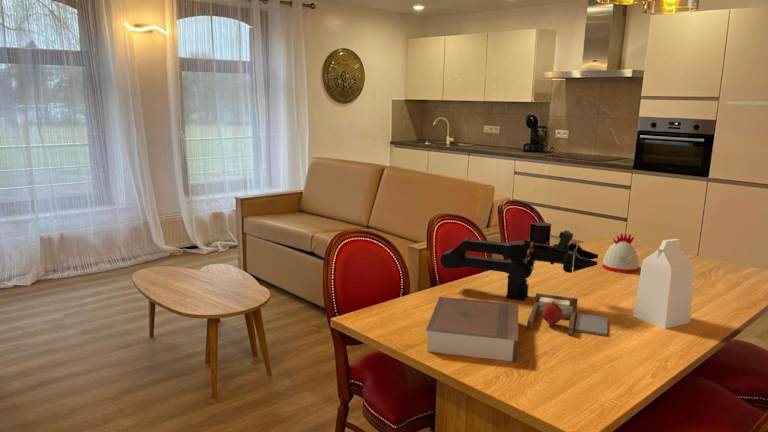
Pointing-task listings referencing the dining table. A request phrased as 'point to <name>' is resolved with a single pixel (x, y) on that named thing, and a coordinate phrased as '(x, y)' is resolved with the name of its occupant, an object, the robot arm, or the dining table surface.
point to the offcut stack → (562, 304)
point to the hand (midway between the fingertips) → (597, 259)
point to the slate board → (591, 324)
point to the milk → (665, 287)
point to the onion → (552, 313)
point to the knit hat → (621, 256)
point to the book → (474, 329)
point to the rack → (572, 300)
